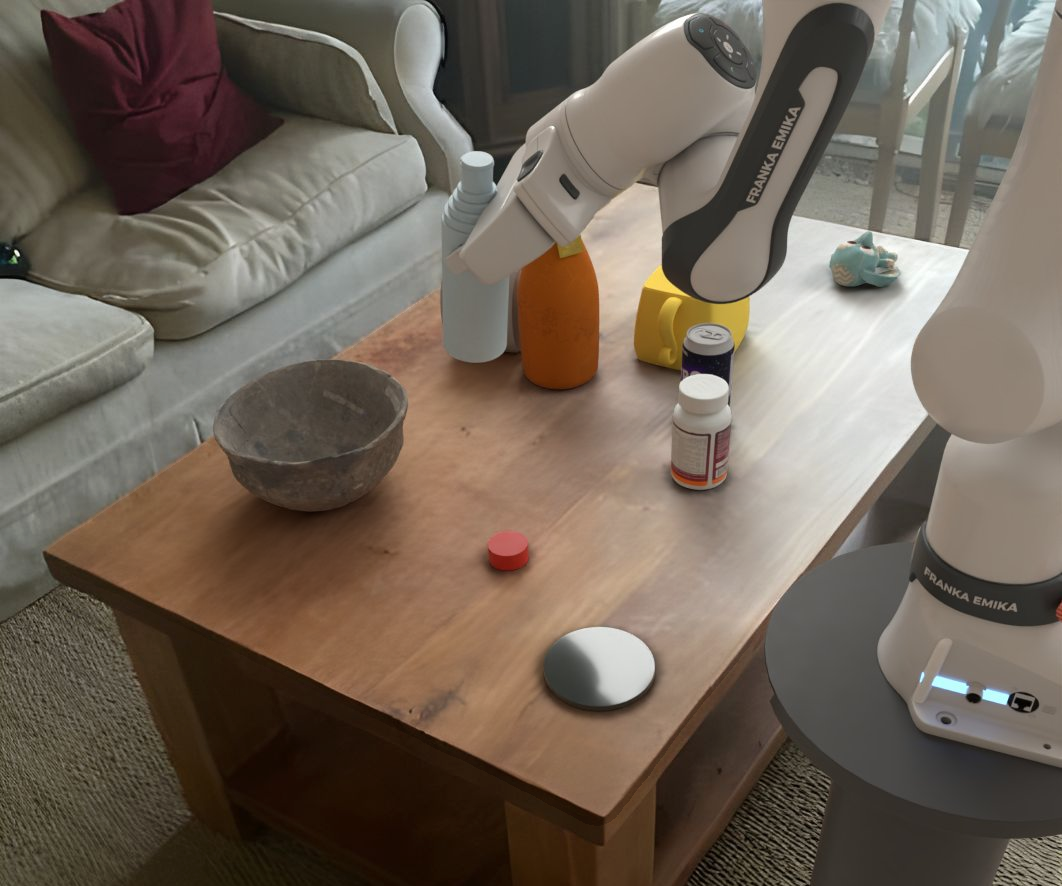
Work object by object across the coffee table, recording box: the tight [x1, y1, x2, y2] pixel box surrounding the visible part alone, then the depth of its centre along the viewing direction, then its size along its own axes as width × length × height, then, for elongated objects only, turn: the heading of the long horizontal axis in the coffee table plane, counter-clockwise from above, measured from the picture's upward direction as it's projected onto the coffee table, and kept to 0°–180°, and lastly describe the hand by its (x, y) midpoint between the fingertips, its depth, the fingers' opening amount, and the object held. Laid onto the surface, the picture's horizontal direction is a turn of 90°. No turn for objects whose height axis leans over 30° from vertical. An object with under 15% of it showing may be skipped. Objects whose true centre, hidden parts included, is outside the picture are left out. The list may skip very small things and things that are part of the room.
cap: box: [487, 530, 530, 571], centre depth 110 cm, size 4×4×2 cm
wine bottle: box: [518, 233, 600, 390], centre depth 128 cm, size 10×10×30 cm
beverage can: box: [680, 323, 735, 408], centre depth 124 cm, size 6×6×12 cm
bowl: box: [212, 358, 409, 512], centre depth 119 cm, size 21×21×10 cm
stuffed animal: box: [828, 230, 901, 288], centre depth 152 cm, size 11×7×12 cm
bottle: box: [440, 150, 509, 364], centre depth 103 cm, size 6×6×20 cm
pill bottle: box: [670, 374, 733, 491], centre depth 117 cm, size 6×6×11 cm
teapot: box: [633, 263, 751, 372], centre depth 139 cm, size 20×12×12 cm, turn 150°
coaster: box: [543, 626, 656, 712], centre depth 98 cm, size 10×10×1 cm
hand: (463, 243), depth 102 cm, fingers closed on bottle, 6 cm apart
